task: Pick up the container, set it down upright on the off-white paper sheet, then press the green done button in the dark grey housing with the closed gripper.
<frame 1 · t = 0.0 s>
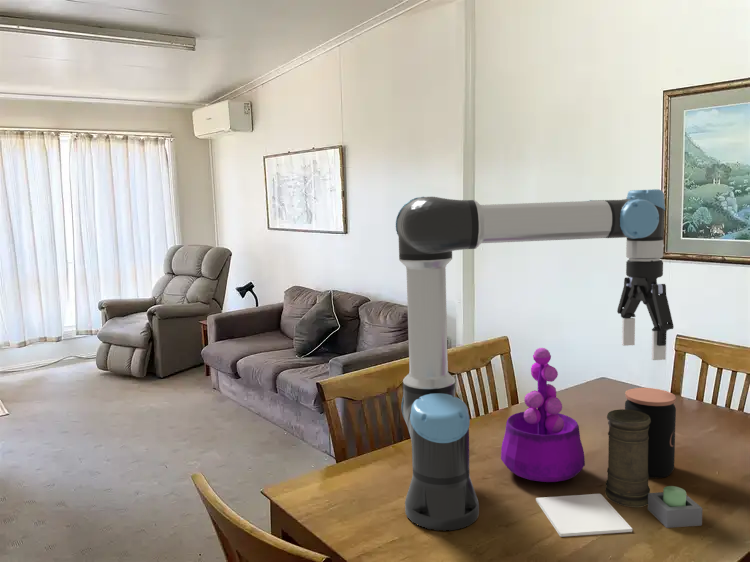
hand: (642, 352, 136), 28 cm above the table, fingers open, 13 cm apart
coffee jar: (648, 469, 139), on the table
container: (627, 497, 126), on the table
button housing: (674, 517, 118), on the table
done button: (674, 501, 117), point 3 cm above the table, slide at 0.0 cm
paper sheet: (581, 515, 120), on the table
decorative plant: (542, 474, 138), on the table
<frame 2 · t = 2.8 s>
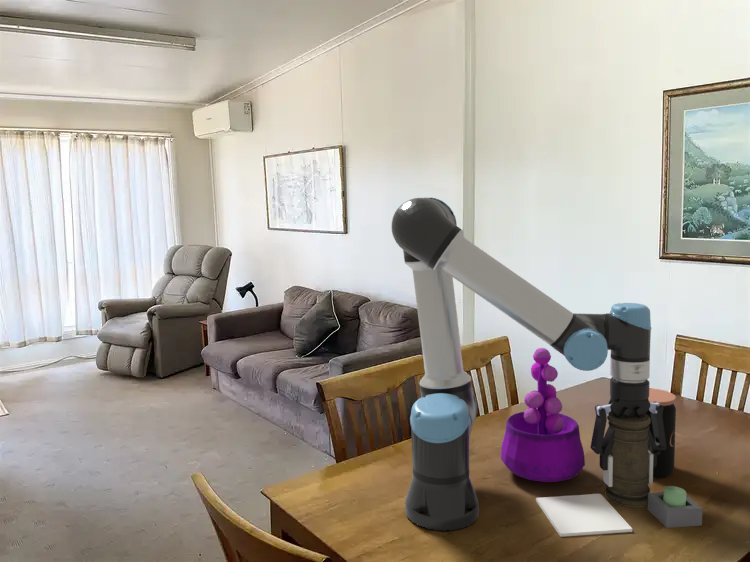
hand: (627, 482, 126), 3 cm above the table, fingers closed on container, 8 cm apart
container: (627, 497, 126), on the table, touching gripper
everything else where it was.
when the fingers open (5 cm above the table, at t = 8.4 s): container drops 2 cm, resting on paper sheet.
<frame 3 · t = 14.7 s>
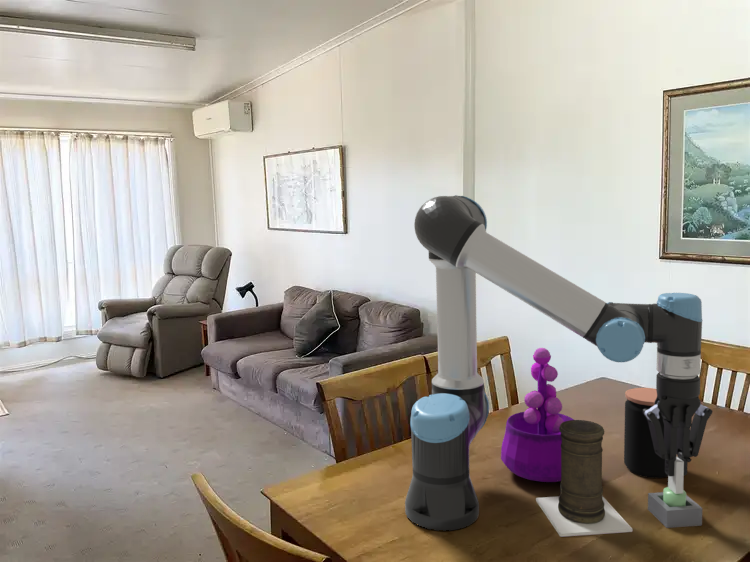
hand: (675, 490, 117), 6 cm above the table, fingers closed
container: (581, 513, 120), resting on paper sheet
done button: (674, 502, 117), point 3 cm above the table, slide at -0.1 cm, touching gripper
everything else where it was.
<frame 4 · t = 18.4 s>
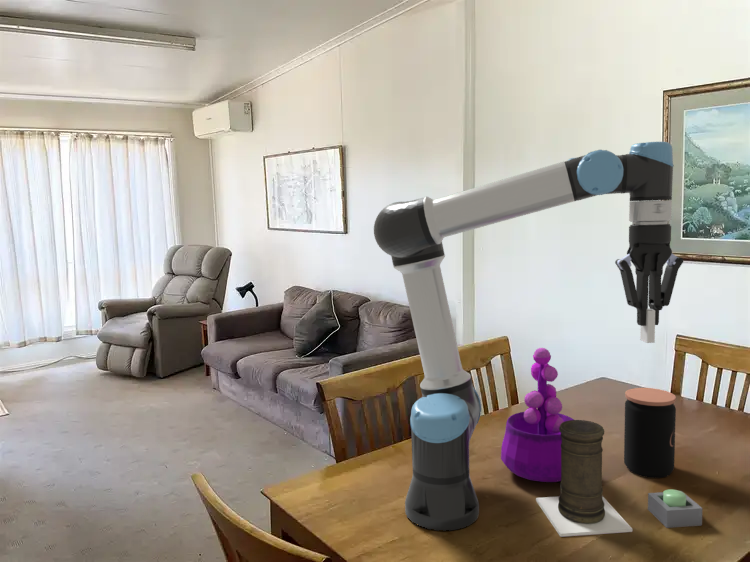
hand: (647, 341, 119), 34 cm above the table, fingers closed
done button: (674, 505, 117), point 3 cm above the table, slide at -0.7 cm
everything else where it was.
at the end: container inside the target area on the paper sheet (0.1 cm from its centre), point 0.4 cm above the paper sheet's base; container tilted 0°; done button slide at -0.7 cm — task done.
